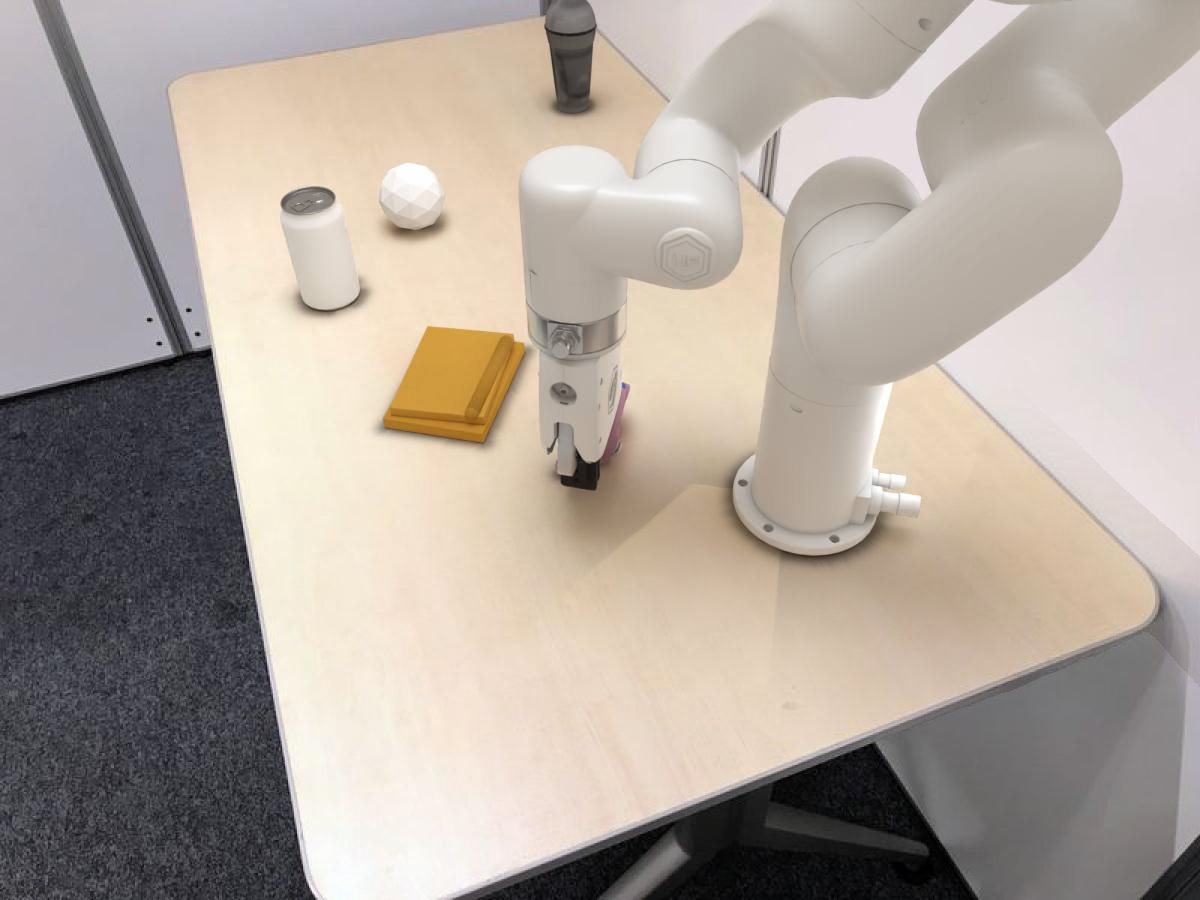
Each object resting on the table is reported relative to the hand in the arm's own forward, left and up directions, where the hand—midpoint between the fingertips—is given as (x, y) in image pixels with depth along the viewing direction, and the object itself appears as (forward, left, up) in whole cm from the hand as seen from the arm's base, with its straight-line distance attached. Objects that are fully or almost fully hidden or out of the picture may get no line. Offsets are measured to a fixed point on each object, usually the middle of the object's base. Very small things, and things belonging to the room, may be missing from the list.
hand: (580, 481), depth 85 cm
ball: (+31, -39, -2) cm, 50 cm away
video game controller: (0, -7, -2) cm, 7 cm away
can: (+35, -23, -2) cm, 42 cm away
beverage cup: (+20, -74, -2) cm, 77 cm away
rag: (+16, -11, -2) cm, 19 cm away
